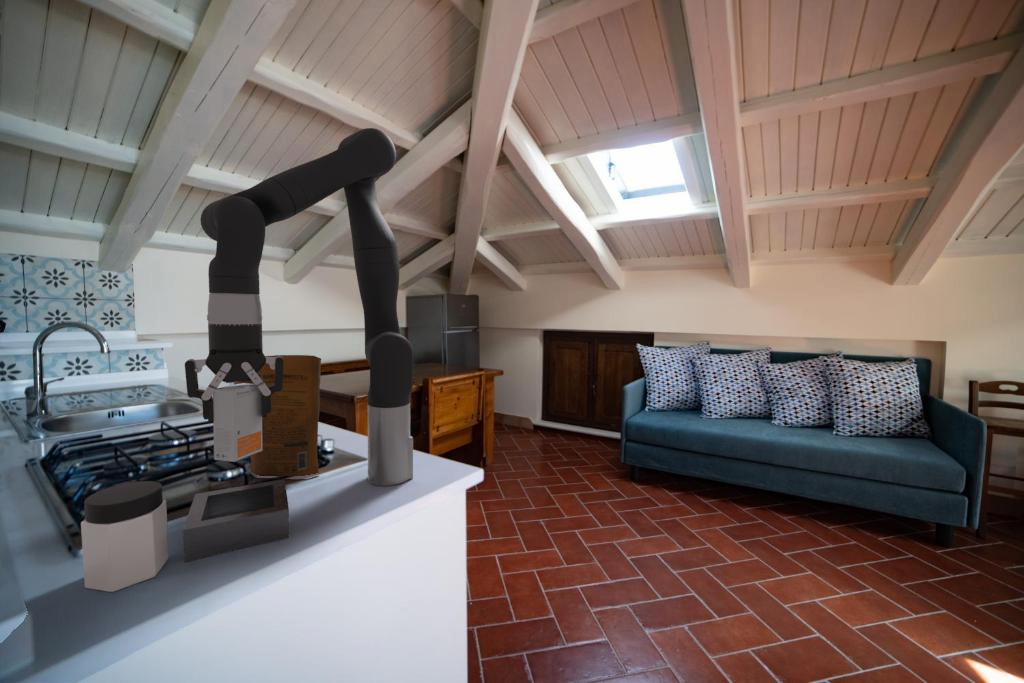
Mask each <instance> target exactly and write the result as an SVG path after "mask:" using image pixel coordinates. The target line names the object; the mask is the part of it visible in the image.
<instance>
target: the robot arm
mask: <svg viewBox="0 0 1024 683" xmlns="http://www.w3.org/2000/svg"><path fill="white" fill-rule="evenodd" d="M396 160H397V151H396V147H395V145H394V143H393V141H392V139H391V137H389V136H388V134H387V133H386V132H384V131H382V130H381V129H378V128H374V127H368V128H366V127H365V128H362V129H359V130H358V131H356V132H354V133H352V134H350V135H348V136H346V137H344V138H343V139H342V140H341V141H340V143H339V145H338V147H337V149H336V150H334V151H331V152H329V153H328V154H325V155H323V156H320V157H317V158H315V159H312V160H310V161H307V162H305V163H301V164H299V165H296V166H293V167H291V168H289V169H285V170H283V171H281V172H280V173H277V174H275V175H272V176H270V177H268V178H265V179H264V180H262V181H261V182H258V183H256V184H255V185H253V186H251V187H250V188H247V189H245V190H242V191H240V192H239V191H238V192H236V193H233V194H231V195H228V196H226V197H222V198H220V199H218V200H214V201H212V202H210V203H209V204H208V205H206V206H205V207H204V209H203V210H202V212H201V215H200V225H201V228H202V230H203V232H204V233H205V235H206V236H208V237H209V238H210V239H211V240H213V241H215V242H216V250H215V251H216V252H215V255H214V257H213V258H212V259H211V260H210V262H209V264H208V292H209V294H208V302H207V315H206V320H207V328H208V330H207V331H208V332H207V333H208V334H207V335H208V336H207V337H208V355H207V357H206V358H202V359H194V358H190V359H188V360H186V361H185V363H184V372H185V381H186V382H185V384H186V392H187V394H186V395H187V396H188V397H189V398H194V399H200V401H201V403H202V417H203V419H204V420H207V422H208V423H209V424H210V423H213V393H214V392H215V390H216V389H217V388H219V386H220V385H221V383H222V382H224V383H225V384H231V383H234V382H236V381H240V382H248V381H250V380H252V381H253V382H254V384H255V385H256V386H257V387H258V388H259V390H260V391H261V392H262V393H263V394H262V417H267V414H268V413H270V412H271V395H272V394H273V393H275V392H278V391H281V390H282V388H283V358H282V357H281V356H277V357H265V356H266V355H265V354H264V352H263V350H264V349H263V347H264V346H263V316H262V314H263V313H262V312H263V310H262V308H263V307H262V304H261V303H262V302H261V298H260V294H261V293H260V273H259V270H260V269H259V268H260V265H261V264H260V263H261V261H262V257H263V252H264V246H265V239H266V228H267V227H268V226H271V225H272V224H275V223H278V222H282V221H285V220H288V219H291V218H292V217H294V216H297V215H299V214H300V213H302V212H303V211H305V210H307V209H309V208H311V207H313V206H314V205H316V204H318V203H320V202H321V201H323V200H324V199H327V198H328V197H329V196H332V195H334V194H335V193H336V192H338V191H339V190H342V189H343V191H344V195H345V200H346V204H347V211H348V218H349V219H348V220H349V226H350V233H351V241H352V242H351V243H352V251H353V252H352V253H353V262H354V267H355V273H356V274H355V275H356V278H357V286H358V290H359V295H360V301H361V304H362V310H363V318H364V354H365V358H366V361H367V363H368V364H369V388H368V392H367V396H366V397H367V481H368V482H369V483H370V484H371V485H376V486H382V487H383V486H384V487H385V486H395V485H399V484H401V483H404V482H406V481H408V480H410V479H411V480H412V479H413V478H414V437H413V436H412V435H411V396H412V392H413V389H414V388H413V387H414V386H413V385H414V351H413V350H414V349H413V346H412V344H411V342H410V341H409V339H408V338H407V337H405V336H403V335H402V333H401V328H400V323H399V318H398V309H397V308H398V307H397V306H398V302H397V301H398V295H399V286H400V262H399V261H400V260H399V253H398V243H397V240H396V238H395V235H394V232H393V230H392V229H391V228H390V226H389V223H388V222H387V220H386V219H385V217H384V216H383V213H382V211H381V209H380V207H379V206H380V205H379V202H378V196H377V190H376V188H377V187H376V179H377V178H380V177H382V176H384V175H387V174H388V173H389V172H390V171H391V170H392V169H393V168H394V166H395V164H396ZM265 363H268V364H269V365H270V368H271V369H275V380H274V384H273V385H270V386H268V385H267V384H266V382H265V381H264V379H263V378H262V377H261V375H260V374H259V373H258V372H259V371H260V369H261V368H262V367H263V366H264V364H265ZM204 366H206V367H207V368H208V369H209V370H210V371H211V372H212V373H213V374H214V377H213V379H212V380H211V382H210V383H209V384H208V386H207V387H206V389H205V390H204V389H202V388H201V389H200V388H199V379H198V374H199V373H201V372H202V370H203V367H204Z"/></svg>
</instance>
